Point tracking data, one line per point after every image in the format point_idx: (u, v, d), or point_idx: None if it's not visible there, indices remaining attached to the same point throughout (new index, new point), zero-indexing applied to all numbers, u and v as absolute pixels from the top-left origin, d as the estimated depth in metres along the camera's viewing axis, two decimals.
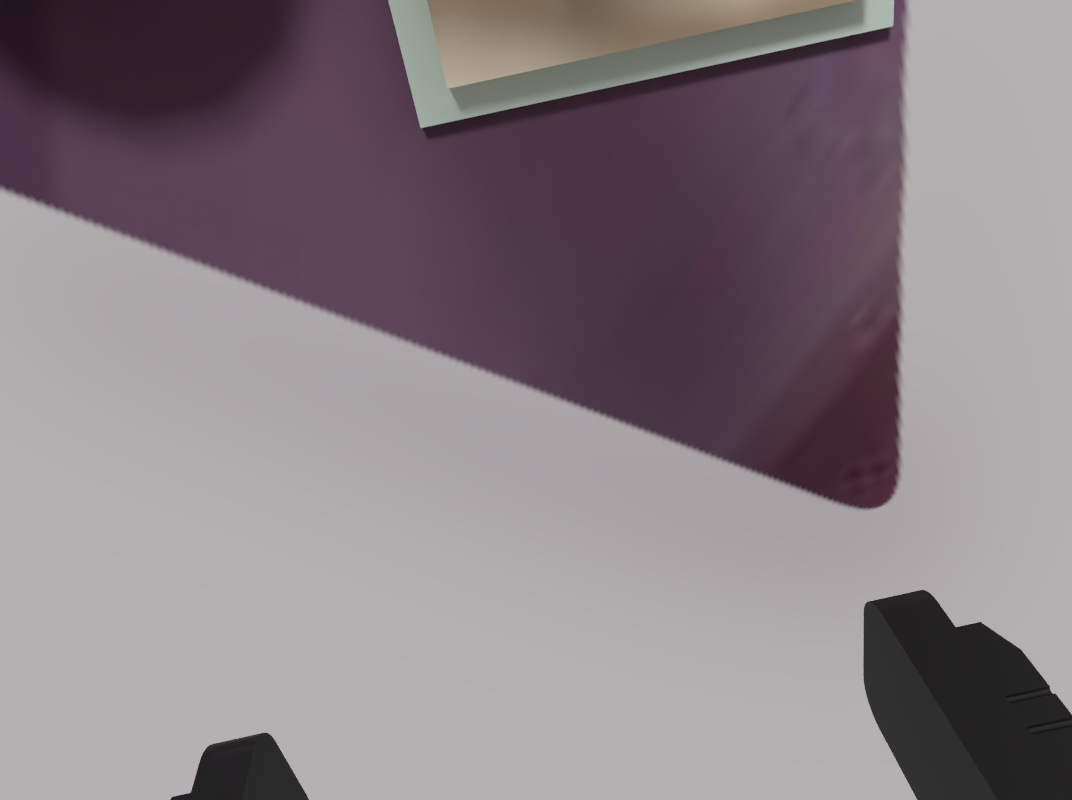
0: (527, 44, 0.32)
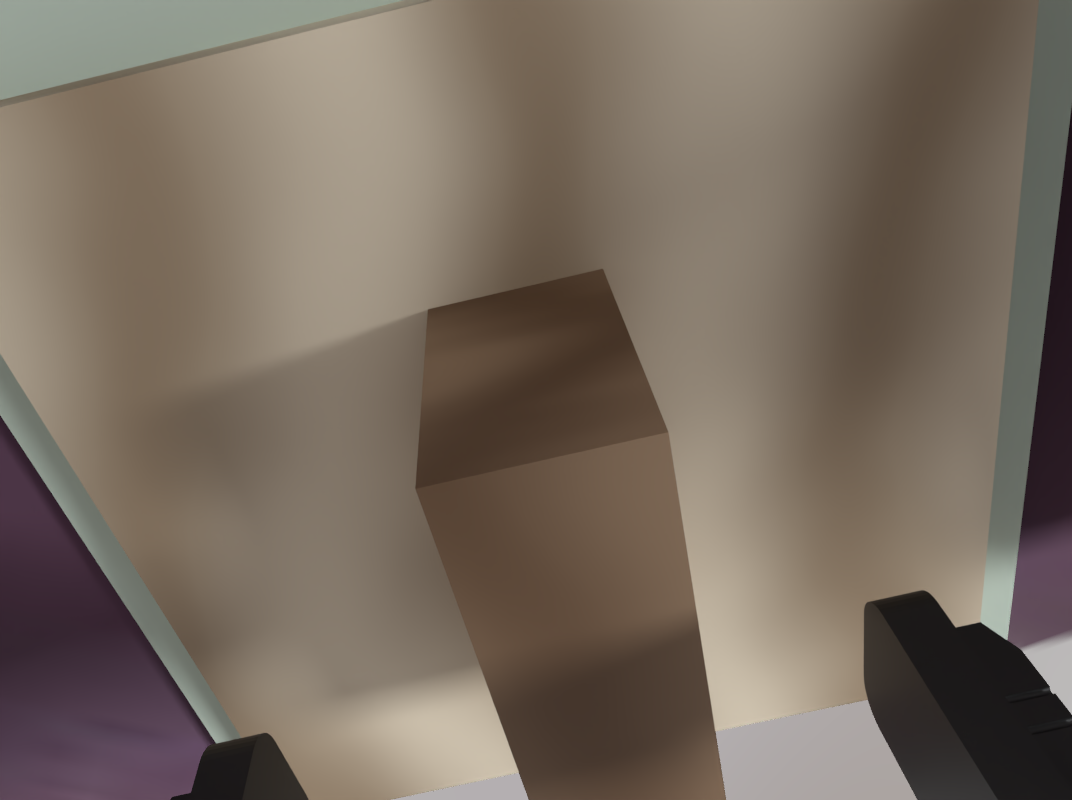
0: (52, 333, 0.14)
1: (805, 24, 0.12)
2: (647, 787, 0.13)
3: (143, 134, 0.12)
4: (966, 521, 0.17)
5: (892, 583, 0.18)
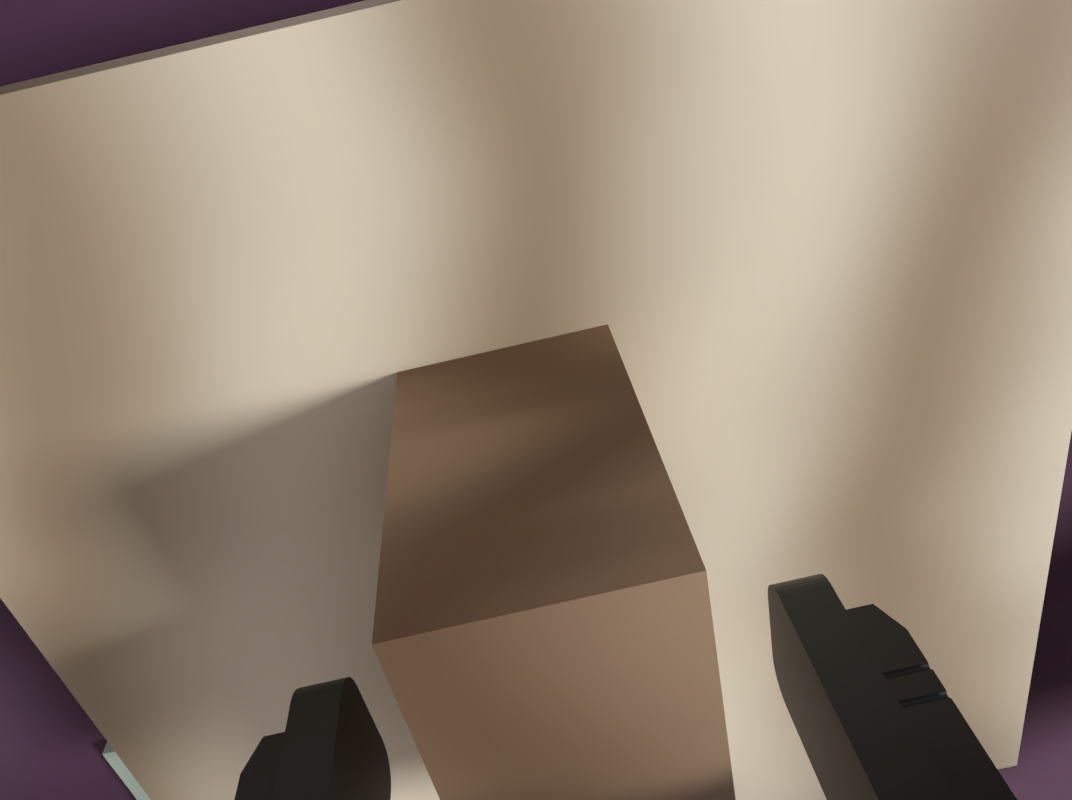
0: None
1: (859, 34, 0.10)
2: None
3: (38, 164, 0.10)
4: (1017, 601, 0.15)
5: (930, 668, 0.16)
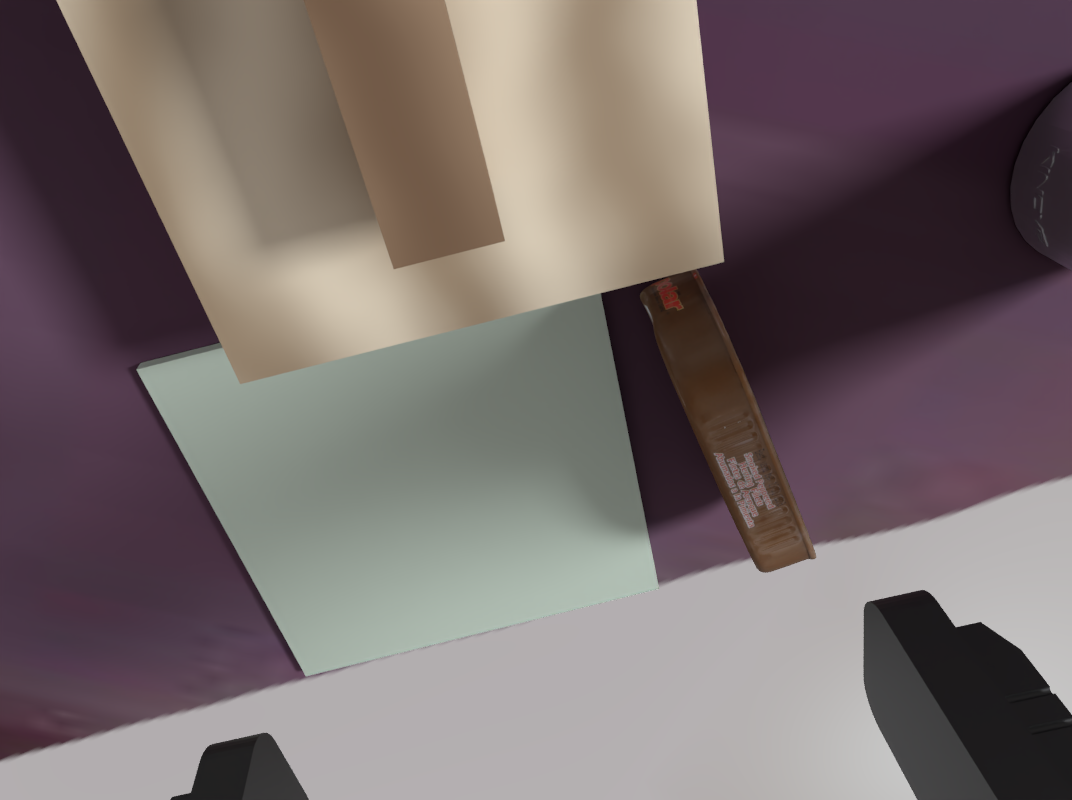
0: None
1: None
2: (445, 197, 0.21)
3: None
4: (692, 114, 0.26)
5: (649, 169, 0.26)
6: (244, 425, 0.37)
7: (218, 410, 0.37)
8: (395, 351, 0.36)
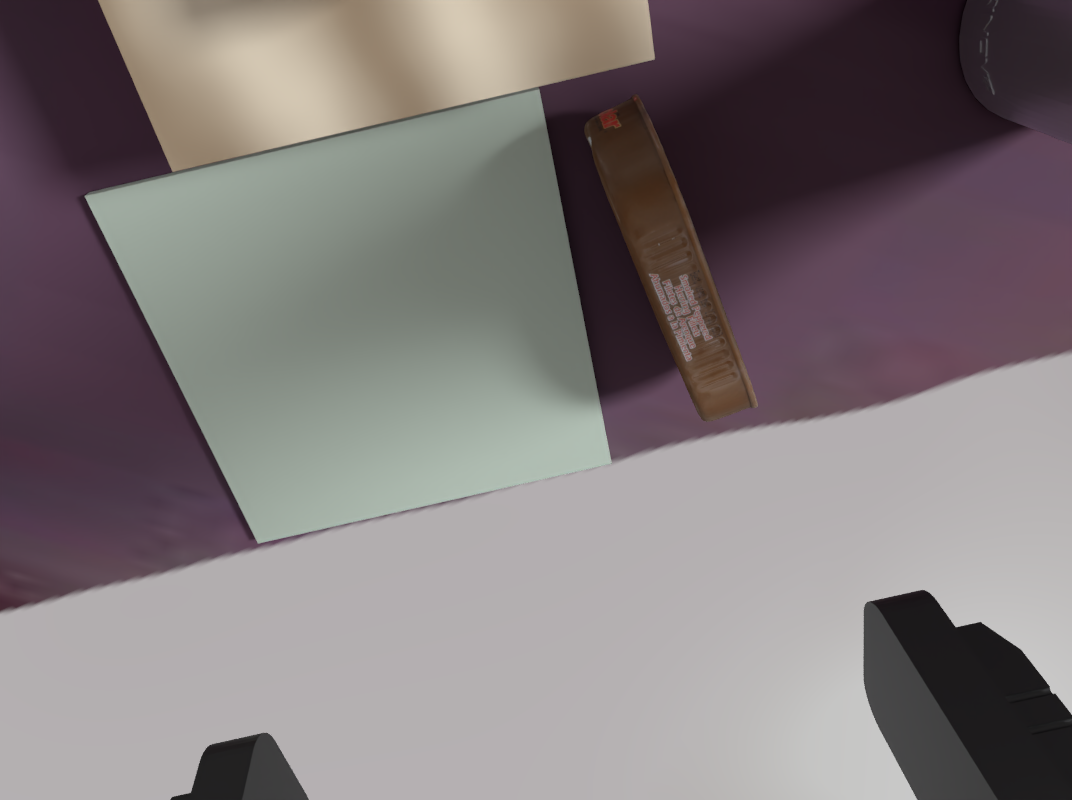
0: None
1: None
2: None
3: None
4: None
5: None
6: (193, 262, 0.38)
7: (167, 244, 0.37)
8: (343, 188, 0.37)
